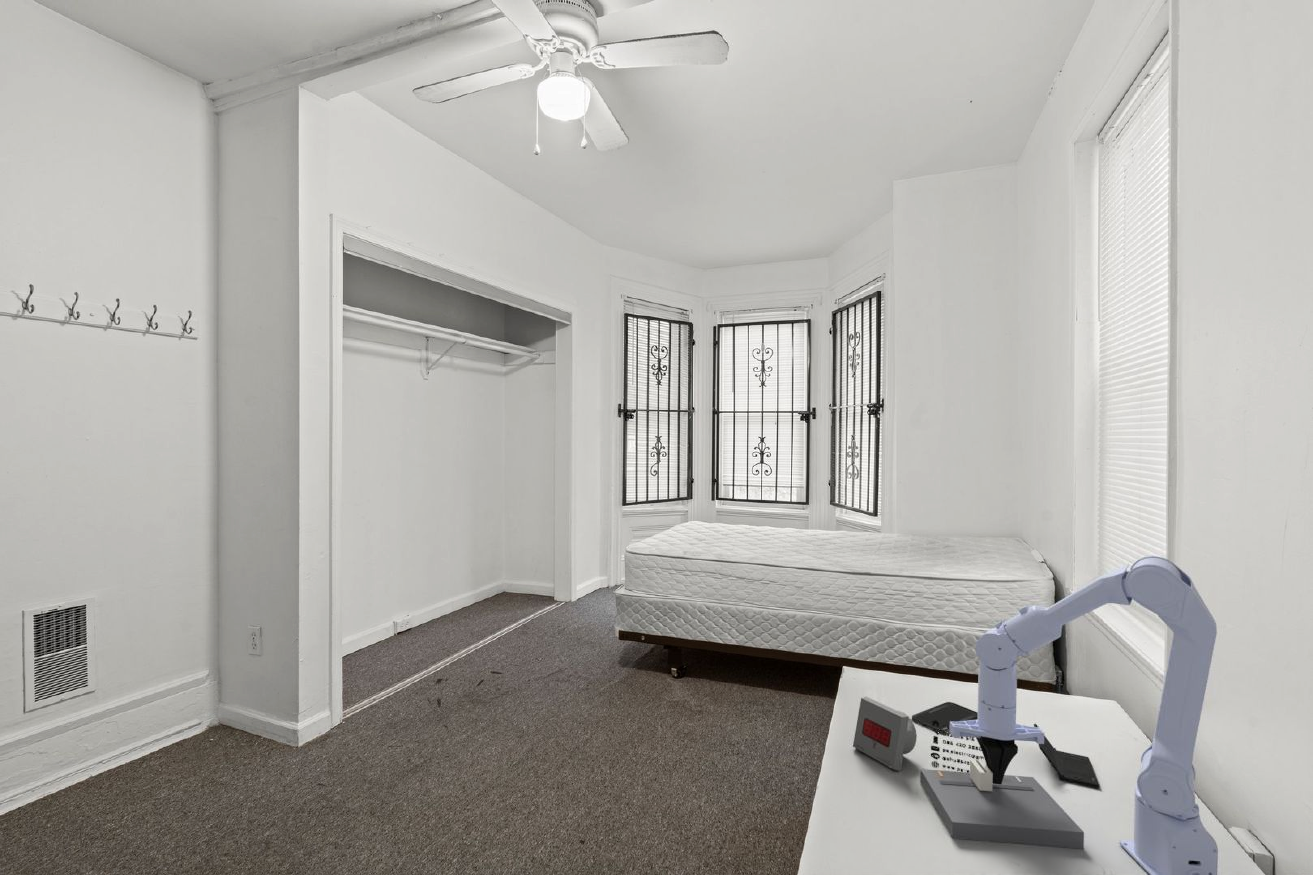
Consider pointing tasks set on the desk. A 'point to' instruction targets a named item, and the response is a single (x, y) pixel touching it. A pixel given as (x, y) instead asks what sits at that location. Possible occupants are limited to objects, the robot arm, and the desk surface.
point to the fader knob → (981, 775)
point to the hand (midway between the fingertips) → (995, 780)
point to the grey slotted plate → (1000, 810)
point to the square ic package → (944, 716)
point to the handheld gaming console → (1070, 765)
